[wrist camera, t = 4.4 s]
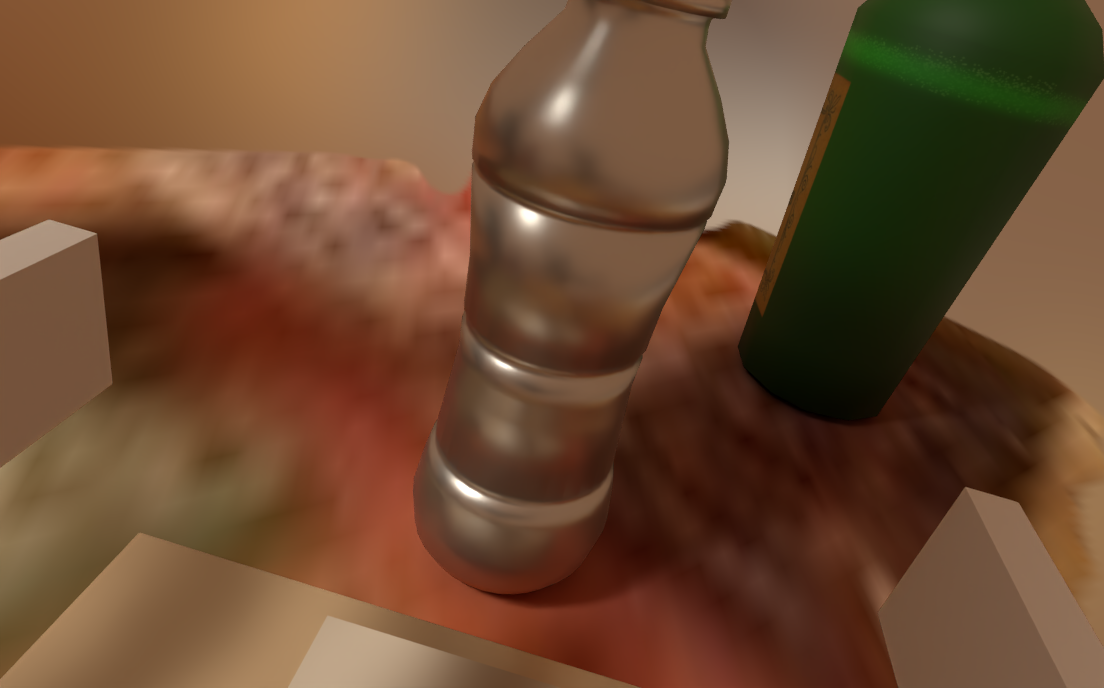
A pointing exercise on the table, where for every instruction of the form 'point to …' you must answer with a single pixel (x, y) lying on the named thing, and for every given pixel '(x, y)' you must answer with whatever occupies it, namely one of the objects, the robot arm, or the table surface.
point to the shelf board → (257, 636)
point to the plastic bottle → (567, 280)
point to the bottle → (911, 186)
